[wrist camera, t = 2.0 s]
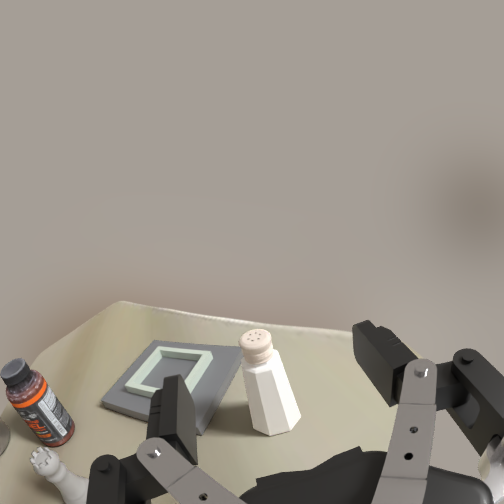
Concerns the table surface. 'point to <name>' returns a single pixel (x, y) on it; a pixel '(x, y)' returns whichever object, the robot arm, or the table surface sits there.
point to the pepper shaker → (267, 385)
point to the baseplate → (172, 363)
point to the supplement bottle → (37, 403)
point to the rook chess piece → (60, 476)
